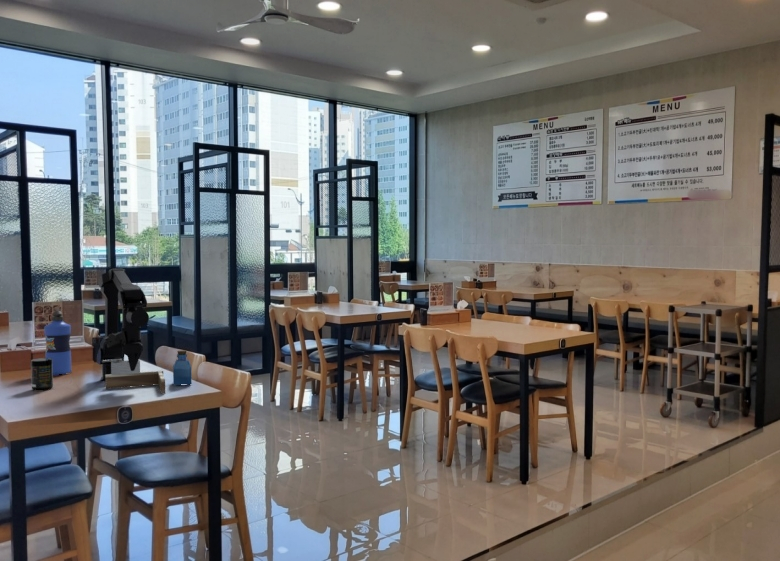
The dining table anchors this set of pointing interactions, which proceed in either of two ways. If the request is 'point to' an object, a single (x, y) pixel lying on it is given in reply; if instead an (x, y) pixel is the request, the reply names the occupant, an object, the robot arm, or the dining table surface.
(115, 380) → the tan l-shaped wall
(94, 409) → the dining table surface
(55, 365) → the water bottle
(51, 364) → the supplement container
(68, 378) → the dining table surface
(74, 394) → the dining table surface
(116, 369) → the bracket
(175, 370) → the blue corked bottle
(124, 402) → the dining table surface
